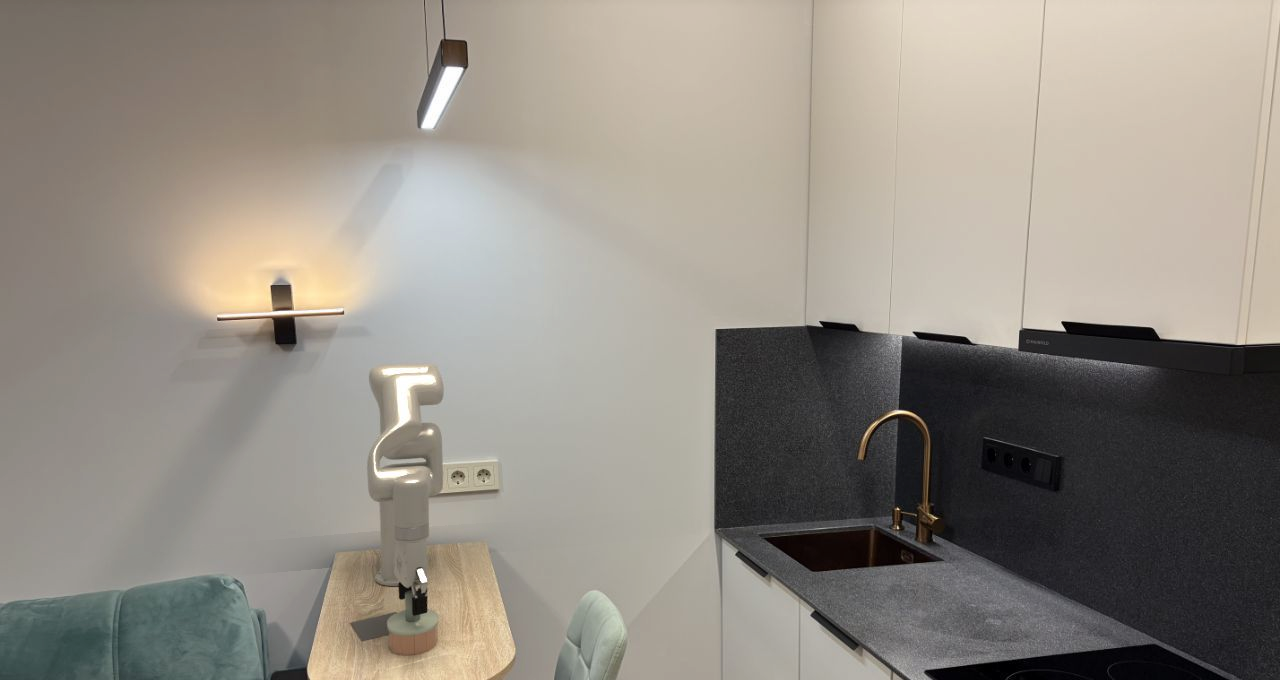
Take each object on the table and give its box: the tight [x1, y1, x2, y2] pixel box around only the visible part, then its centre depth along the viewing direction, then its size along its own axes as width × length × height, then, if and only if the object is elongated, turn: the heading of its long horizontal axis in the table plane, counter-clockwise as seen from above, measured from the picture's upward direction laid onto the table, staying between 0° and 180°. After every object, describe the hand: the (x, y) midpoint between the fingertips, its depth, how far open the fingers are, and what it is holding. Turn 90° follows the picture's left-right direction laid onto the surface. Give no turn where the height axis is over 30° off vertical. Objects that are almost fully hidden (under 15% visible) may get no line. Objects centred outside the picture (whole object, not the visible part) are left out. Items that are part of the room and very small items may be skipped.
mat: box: [349, 611, 398, 642], centre depth 181 cm, size 11×11×1 cm
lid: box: [387, 589, 439, 636], centre depth 172 cm, size 11×11×7 cm
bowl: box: [388, 625, 438, 656], centre depth 173 cm, size 10×10×5 cm
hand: (412, 605), depth 172 cm, fingers open, 9 cm apart
